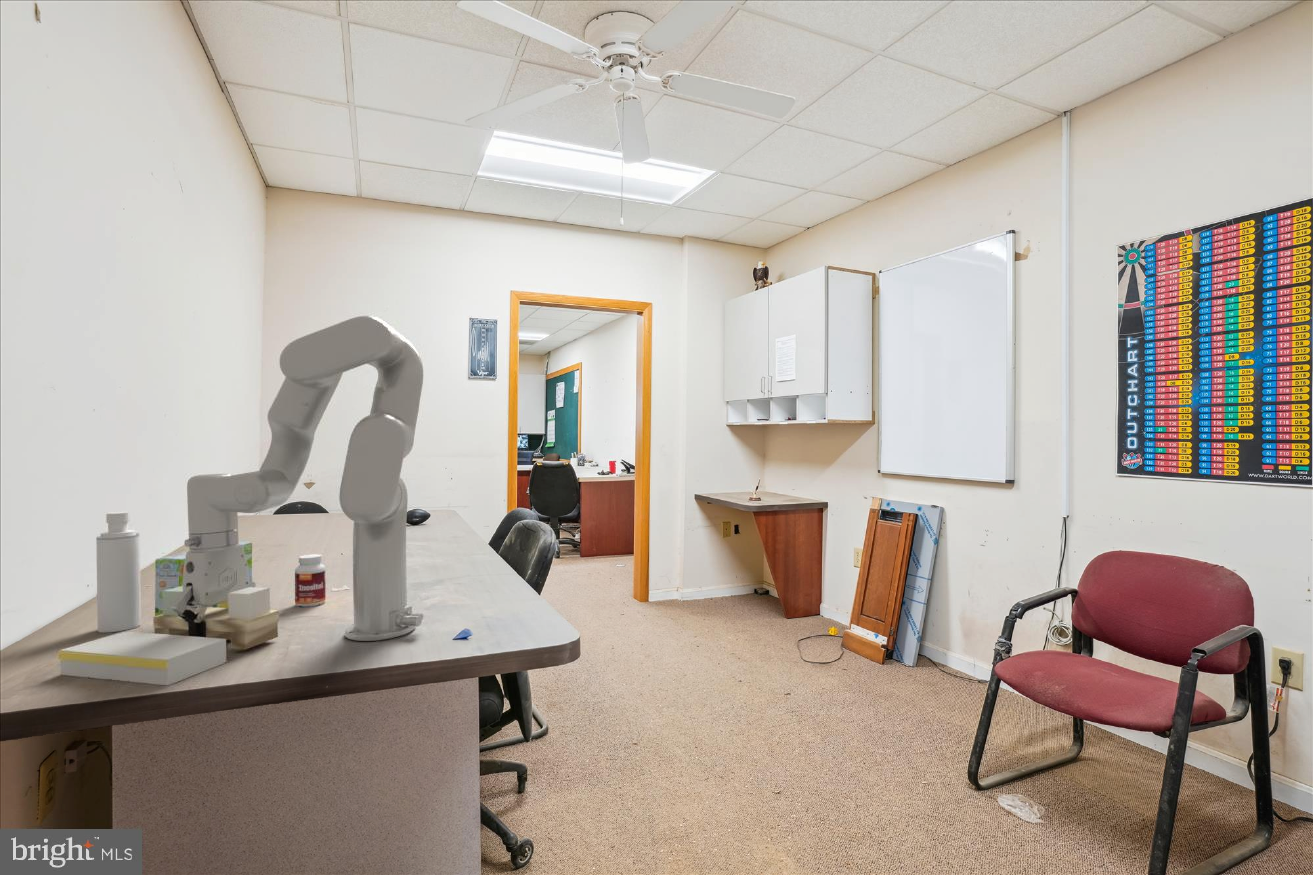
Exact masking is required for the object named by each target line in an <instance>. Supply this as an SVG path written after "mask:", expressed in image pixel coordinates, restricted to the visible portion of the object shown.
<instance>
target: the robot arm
mask: <svg viewBox="0 0 1313 875" xmlns="http://www.w3.org/2000/svg"><path fill="white" fill-rule="evenodd" d="M364 365H369V366H372V367H373V368H374V369H376V371H377V376H378V377H377V381H376V383H375V387H374V392H373V396H372V403H371V408H370V412H369V414H368V415H367V416H364V417H363V418H362V419H360V420H359V421H358V422H357V424H356V425H355V426H354V428H353V430H352V432H351V435H350V438H349V442H348V445H347V450H346V455H345V462H344V467H343V472H342V475H341V476H342V477H341V483H340V487H339V494H338V495H339V496H338V497H339V498H338V499H339V505H340V508H341V510H342V512H343V514H344V515H345V516H346V517H347V518H348V519H349V520H351V521H353V527H352V528H353V530H352V580H353V581H352V583H353V584H352V588H353V590H352V592H353V594H352V595H353V623H352V624H350V625H349V626H347V627H346V628H345V630H344V636H345V638H347V639H349V640H352V641H358V642H373V641H375V642H376V641H381V640H382V641H384V640H389V639H393V638H394V639H395V638H398V637H401V636H405V635H407V634H409V633H411V632H413V631H414V629H416V627H420V626H421V625H422V622H423V619H424V614H423V613H421V612H420V613H417V612H416V613H413V605H408V599H407V598H408V595H407V594H408V590H407V589H408V588H407V586H408V585H407V584H408V583H407V579H408V578H407V517H408V516H407V514H408V502H409V500H408V491H407V486H406V484H405V482H404V480H403V478H401V472H402V467H403V462H404V459H405V458H407V456H408V455H409V454H411V451H412V449H413V447H414V441H415V435H416V434H415V433H416V426H417V421H418V417H419V412H420V403H421V402H420V401H421V397H422V391H423V384H424V367H423V361H422V359H421V357H420V354H419V352H418V351H417V349H416V348H415V347H414V345H413V344H412V343H411V342H410V341H409V340H408V339H407V338H405V336H403V335H402V334H401V333H399V332H398V331H396V330H395V328H394V327H392V326H391V325H389V324H388V323H387V322H385V321H383V320H382V319H380V318H379V317H375V316H372V315H361V316H355V317H352V318H349V319H346V320H344V321H341V322H339V323H336V324H333V325H330V326H328V327H325V328H323V329H319V330H316V331H314V332H312V333H308V334H306V335H303V336H301V337H299V338H296V339H294V340H292V341H291V342H289V343H288V344H287V345H286V346H285V347H284V348H283V350H282V351H281V353H280V356H279V368H280V371H281V372H282V374H283V376H284V380H283V382H282V384H281V386H280V388H279V390H278V392H277V394H276V395H275V398H274V400H273V402H272V403H271V405H270V408H269V409H268V412H267V421H268V425H269V428H270V430H271V431H270V432H271V440H270V445H269V447H268V451H267V454H266V456H265V458H264V460H263V462H262V464H261V466H260V468H259V470H256V471H250V472H245V473H237V474H228V473H208V474H197V475H194V476H191V477H190V478H189V479H188V481H187V483H186V493H187V496H186V497H187V501H186V502H187V527H188V539H187V538H186V539H185V540H184V546H185V547H187V548H188V551H186V552H187V553H186V558H185V563H184V570H183V592H182V593H181V594H180V595H179V596H178V598H177V599H176V600H175V601H174V602H173V603H172V605H171V609H173V610H174V611H175V612H176V613H178V615H179V616H180V617H181V618H183V619H184V621H185V622H188V633H189V636H194V637H206V623H205V621H202V619H203V617H204V614H205V612H206V609H207V607H210V606H214V605H217V604H221V603H224V602H227V603H228V593H231V592H234V591H238V590H241V589H245V588H248V587H256V585H257V584H256V583H255V582H254V581H253V580H252V581H251V580H250V579H249V574H248V566H247V560H246V555H245V552H244V548H243V546H242V544H239V542H240V541H239V540H240V539H239V521H238V520H239V514H238V513H241V514H242V513H244V514H256V513H260V512H265V511H267V510H270V509H273V508H276V507H279V506H281V505H283V504H285V503H286V502H287V501H288V500H289V499H290V498H291V496H292V494H293V493H294V492H295V489H296V487H297V486H298V484H299V481H300V480H301V477H302V475H303V473H304V471H305V469H306V468H307V464H308V461H309V458H310V455H311V451H312V448H313V444H314V439H315V434H316V431H317V428H318V426H319V424H320V423H321V420H322V419H323V416H324V413H325V412H326V410H327V408H328V406H329V403H330V401H331V400H332V397H333V395H334V393H335V391H336V389H337V387H338V385H339V383H340V381H341V379H342V376H343V374H344V373H346V372H348V371H350V370H353V369H356V368H359V367H361V366H364ZM186 606H189V608H188V609H187V607H186ZM197 608H198V610H197V613H196V614H195V612H196V609H197Z"/></svg>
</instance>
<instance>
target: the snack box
mask: <svg viewBox="0 0 1313 875" xmlns="http://www.w3.org/2000/svg"><path fill="white" fill-rule="evenodd" d="M239 544H242V546H243V548H244V552H245V555H246V560H247V566H248V574H249V579H250V580H251V581H253V578H252V577H253V541H239ZM187 552H188V551H185V552H181V553H177V554H172V555H169V556H168V555H167V556H164V557H159V558H157V559H155V562H154V563H155V569H154V570H155V571H154V572H155V575H154V577H155V578H154V579H155V580H154V582H155V583H154V588H155V589H154V593H155V594H154V603H155V604H154V617H155V616H158V615H162V614H163V595H162V591H164V590H168V589H172V588H176V587H180V586H183V570H184V563H185V558H186V553H187ZM210 607H213V608H228V603H227V602H224V603H221V604H217V605H214V606H210ZM154 634H156V628H154Z"/></svg>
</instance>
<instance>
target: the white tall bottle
mask: <svg viewBox="0 0 1313 875" xmlns="http://www.w3.org/2000/svg"><path fill="white" fill-rule="evenodd" d="M105 516H106V521H105V522H106V524H107V531H105V532H101V533H100V535H99V536H96V541H95V542H96V544H95V545H96V595H97V596H96V598H97V599H96V602H97V604H96V605H97V612H96V613H97V632H99V633H102V634H107V633H109V634H110V633H120V632H125V631H129V630H132V629H135V628H139V625H140V626H141V625H142V607H141V606H142V600H141V599H142V598H141V597H142V596H141V591H142V590H141V543H140V540H141V539H140V538H141V537H140V533H139V532H136V530H134V529H129V522H130V511H114V512H107V513H106V514H105Z"/></svg>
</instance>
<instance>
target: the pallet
mask: <svg viewBox="0 0 1313 875" xmlns="http://www.w3.org/2000/svg"><path fill="white" fill-rule="evenodd" d="M196 613H197V612H195V614H196ZM152 620H153V622H152V623H153V628H154V629H155V628H156V634H167V635H180V636H189V633H188V622H185V621H184V619H183V618H181V617H180V616H171V615H163V614H162V615H158V616H155V615H154V616H153V618H152ZM280 620H281V619H280V610H279V609H270V612H269V613H266V614H263V615H260V616H257V617H254V618H251V619H234V618H229V609H228V608H213V607H207V609H206V612H205V614H204V617H203V619H202V621H205V623H206V637H207V638H220V639H226V641H228V640H230V641H231V642H230V644H231V647H230V648H231V650H247V649H250V648H254V647H256V646H258V645H260V644H263V643H266V642H268V641H271V640H273V639H276V638H278V637H279V634H278V633H279V631H278V630H279V628H278V622H281V621H280Z"/></svg>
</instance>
